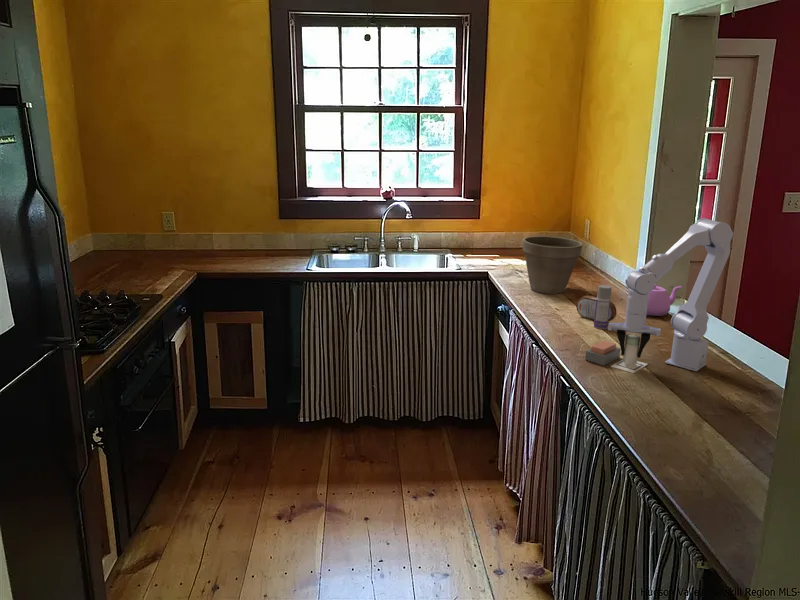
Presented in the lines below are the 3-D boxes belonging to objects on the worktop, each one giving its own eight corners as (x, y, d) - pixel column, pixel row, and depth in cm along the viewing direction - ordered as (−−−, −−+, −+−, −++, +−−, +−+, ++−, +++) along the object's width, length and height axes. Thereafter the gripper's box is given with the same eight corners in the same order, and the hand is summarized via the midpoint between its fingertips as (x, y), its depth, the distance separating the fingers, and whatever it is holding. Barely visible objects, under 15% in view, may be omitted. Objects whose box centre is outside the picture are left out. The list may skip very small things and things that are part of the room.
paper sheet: (647, 364, 195) (647, 363, 195) (633, 373, 188) (633, 372, 188) (625, 358, 200) (626, 357, 199) (610, 366, 193) (610, 365, 193)
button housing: (619, 357, 201) (620, 348, 200) (603, 365, 193) (605, 356, 193) (601, 352, 205) (602, 343, 204) (585, 360, 198) (586, 350, 197)
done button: (615, 349, 200) (616, 343, 199) (603, 355, 194) (603, 349, 194) (603, 346, 202) (604, 340, 202) (591, 351, 197) (591, 346, 196)
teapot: (631, 317, 243) (635, 287, 240) (620, 307, 256) (624, 278, 253) (685, 319, 243) (689, 288, 239) (671, 309, 255) (675, 280, 252)
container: (596, 324, 233) (601, 284, 229) (609, 327, 231) (614, 286, 227) (591, 327, 230) (595, 286, 226) (604, 330, 227) (608, 288, 223)
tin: (615, 323, 235) (618, 301, 233) (611, 325, 233) (614, 302, 231) (578, 314, 245) (580, 293, 243) (574, 316, 243) (576, 294, 241)
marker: (636, 360, 195) (639, 335, 193) (637, 365, 191) (640, 339, 189) (622, 359, 196) (625, 334, 194) (622, 363, 192) (626, 338, 190)
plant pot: (589, 292, 277) (595, 243, 271) (550, 300, 264) (554, 248, 258) (546, 280, 297) (550, 234, 291) (507, 287, 283) (510, 238, 277)
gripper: (662, 311, 190) (656, 354, 194) (611, 305, 195) (606, 347, 199) (662, 317, 184) (656, 362, 188) (609, 311, 189) (604, 355, 193)
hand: (630, 355), depth 193 cm, fingers open, 4 cm apart
